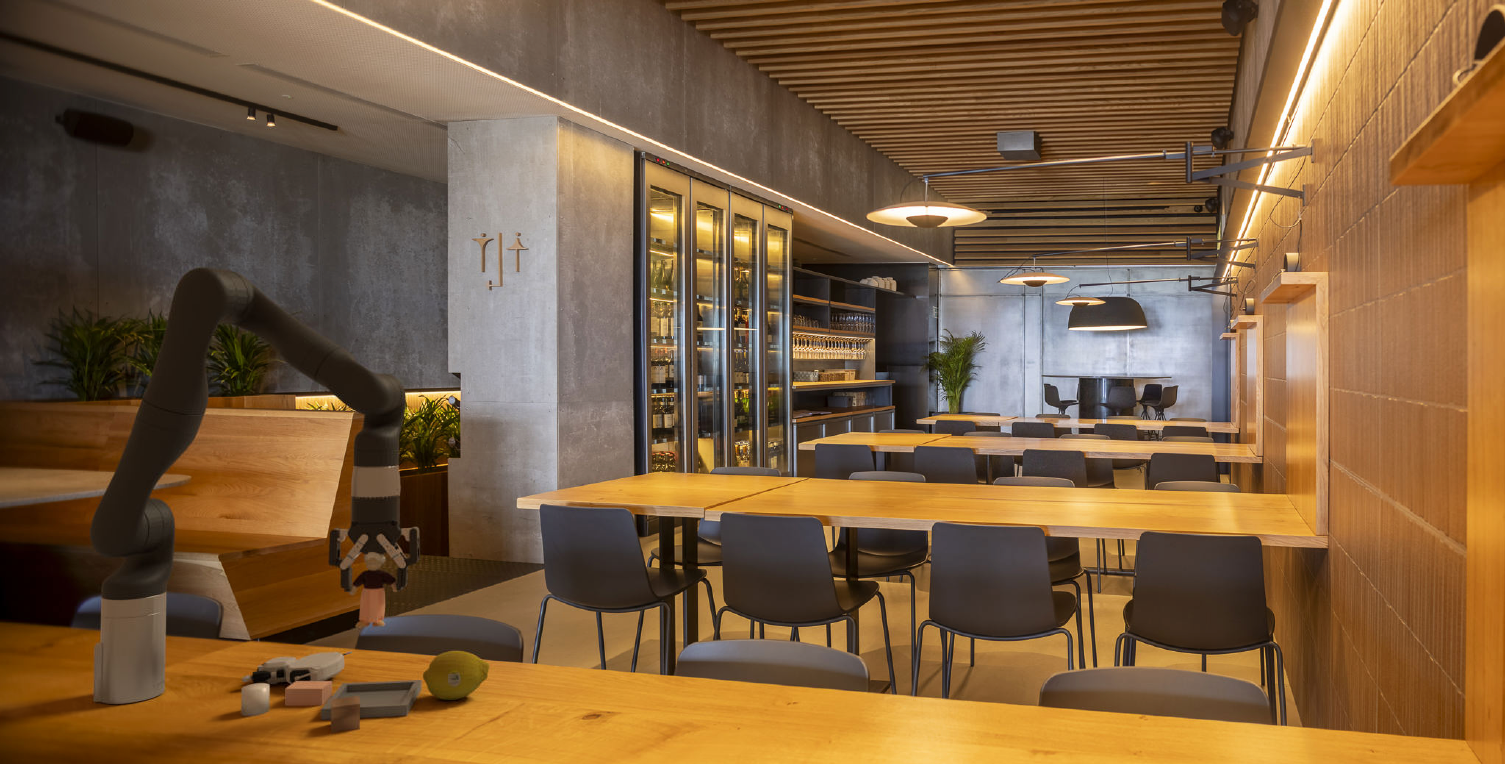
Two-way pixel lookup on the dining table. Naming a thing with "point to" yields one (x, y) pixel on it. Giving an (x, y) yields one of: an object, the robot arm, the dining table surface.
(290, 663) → the robot toy
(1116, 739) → the dining table surface
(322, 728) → the dining table surface
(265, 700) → the white rounded cylinder block
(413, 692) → the tray
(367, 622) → the grandmother figurine
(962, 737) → the dining table surface
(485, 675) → the lemon
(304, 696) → the terracotta block
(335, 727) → the walnut cube
